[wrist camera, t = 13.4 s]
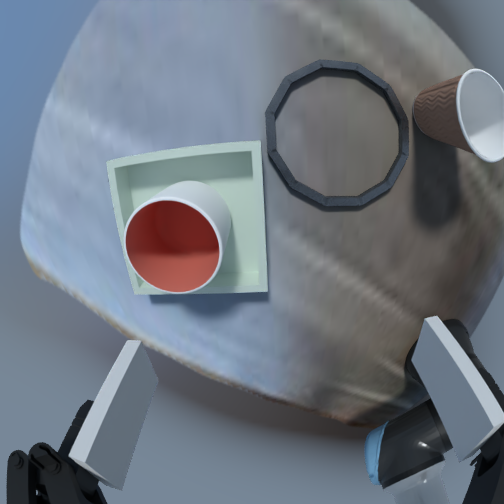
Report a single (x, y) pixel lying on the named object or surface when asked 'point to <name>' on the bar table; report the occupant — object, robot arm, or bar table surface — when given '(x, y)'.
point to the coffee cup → (464, 114)
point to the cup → (178, 237)
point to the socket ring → (392, 100)
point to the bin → (224, 182)
